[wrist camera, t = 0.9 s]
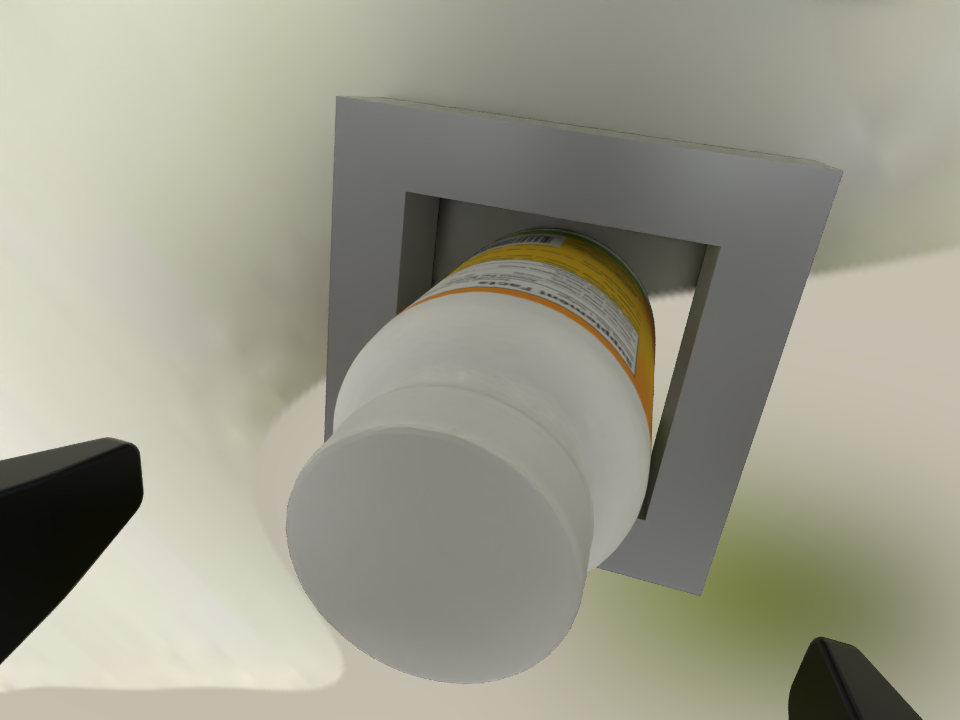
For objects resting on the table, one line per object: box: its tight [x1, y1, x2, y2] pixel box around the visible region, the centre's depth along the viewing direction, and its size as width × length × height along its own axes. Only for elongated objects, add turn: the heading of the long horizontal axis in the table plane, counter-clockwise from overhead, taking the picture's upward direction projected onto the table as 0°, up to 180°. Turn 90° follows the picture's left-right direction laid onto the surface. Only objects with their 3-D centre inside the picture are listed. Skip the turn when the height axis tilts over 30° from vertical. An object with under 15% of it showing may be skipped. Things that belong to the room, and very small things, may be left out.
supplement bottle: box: [286, 229, 655, 684], centre depth 13 cm, size 5×5×10 cm
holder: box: [324, 96, 843, 596], centre depth 16 cm, size 10×10×2 cm
